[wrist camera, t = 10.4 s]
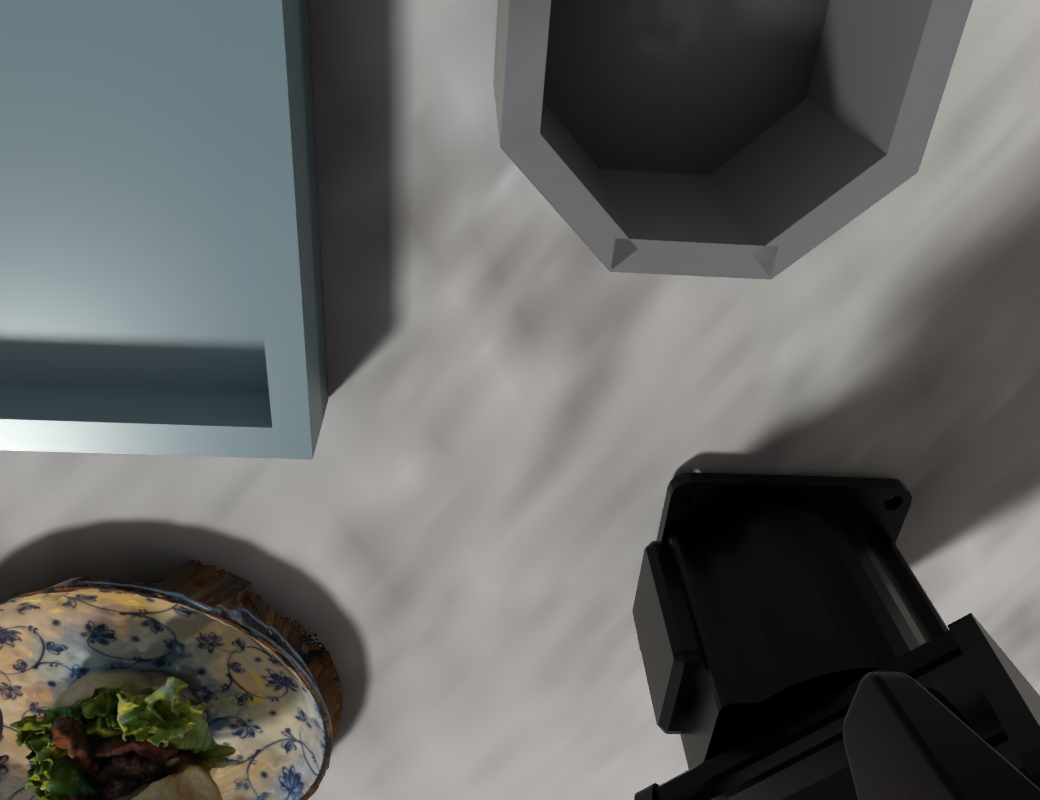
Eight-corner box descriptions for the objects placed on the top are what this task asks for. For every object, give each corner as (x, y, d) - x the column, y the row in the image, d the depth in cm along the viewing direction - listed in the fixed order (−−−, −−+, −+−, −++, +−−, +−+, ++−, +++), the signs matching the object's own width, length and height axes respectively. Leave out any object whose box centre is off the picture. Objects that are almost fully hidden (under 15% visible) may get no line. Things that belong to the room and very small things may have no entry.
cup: (891, -173, 15) (1032, -185, 11) (798, 199, 19) (881, 285, 15) (509, -208, 15) (523, -233, 11) (488, 181, 18) (493, 265, 14)
